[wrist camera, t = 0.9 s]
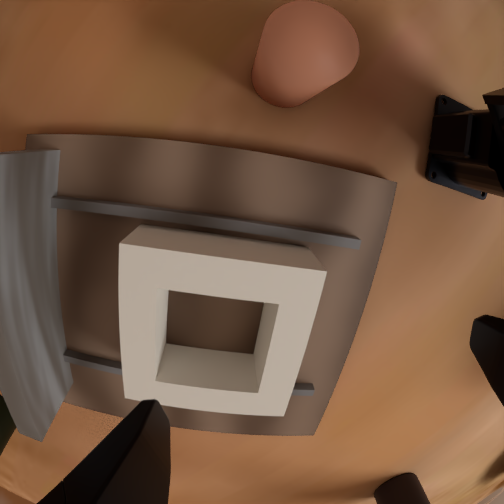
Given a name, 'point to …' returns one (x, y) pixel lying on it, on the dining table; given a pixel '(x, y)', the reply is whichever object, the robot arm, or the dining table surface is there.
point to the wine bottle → (5, 424)
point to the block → (219, 285)
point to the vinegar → (401, 491)
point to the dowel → (303, 53)
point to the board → (179, 303)
